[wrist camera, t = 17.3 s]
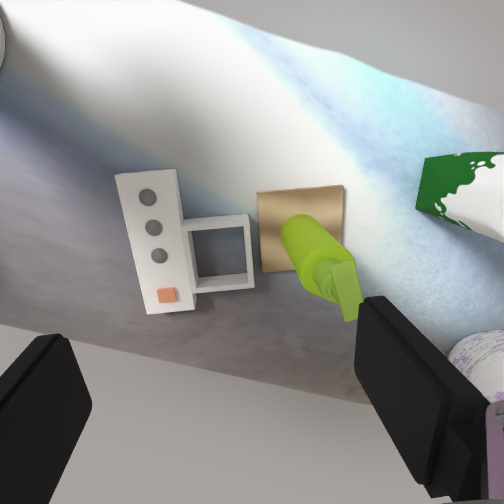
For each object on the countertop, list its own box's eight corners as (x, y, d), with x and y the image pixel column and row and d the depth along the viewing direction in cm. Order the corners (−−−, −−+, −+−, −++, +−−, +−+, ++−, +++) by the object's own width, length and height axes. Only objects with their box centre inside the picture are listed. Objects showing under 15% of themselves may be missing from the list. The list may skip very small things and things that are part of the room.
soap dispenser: (312, 201, 41) (379, 253, 23) (324, 245, 44) (394, 324, 25) (272, 215, 42) (306, 278, 23) (286, 258, 44) (327, 346, 25)
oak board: (256, 192, 41) (257, 193, 40) (341, 184, 42) (343, 185, 41) (261, 270, 46) (262, 272, 45) (338, 262, 46) (340, 265, 45)
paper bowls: (518, 310, 52) (566, 338, 44) (508, 375, 57) (550, 411, 50) (432, 328, 52) (466, 360, 45) (431, 392, 57) (461, 429, 50)
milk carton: (407, 214, 44) (538, 269, 25) (420, 150, 41) (580, 159, 22) (464, 213, 44) (632, 266, 26) (480, 149, 41) (686, 158, 23)
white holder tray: (122, 172, 39) (112, 176, 36) (243, 163, 40) (244, 165, 36) (152, 303, 46) (145, 316, 43) (254, 293, 47) (255, 305, 44)
